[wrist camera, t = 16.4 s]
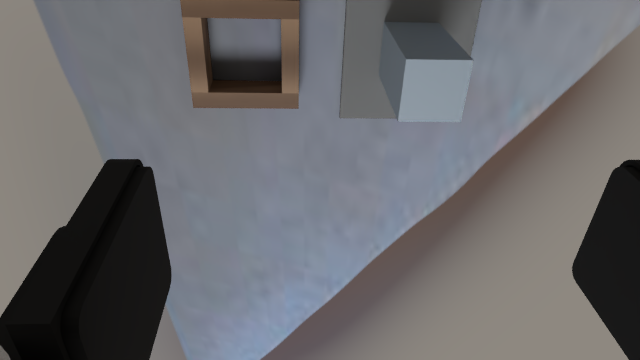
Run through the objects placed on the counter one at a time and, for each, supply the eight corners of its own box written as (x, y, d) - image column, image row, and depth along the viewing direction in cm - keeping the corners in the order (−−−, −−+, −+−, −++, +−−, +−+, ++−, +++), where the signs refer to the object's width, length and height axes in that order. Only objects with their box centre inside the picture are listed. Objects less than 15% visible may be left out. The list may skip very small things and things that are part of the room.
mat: (348, -34, 41) (348, -33, 41) (486, -30, 42) (487, -30, 41) (339, 116, 49) (339, 118, 48) (456, 117, 49) (457, 118, 49)
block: (384, 21, 43) (406, 59, 35) (438, 22, 44) (473, 60, 35) (378, 75, 46) (398, 121, 38) (430, 75, 46) (460, 121, 38)
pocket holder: (186, -10, 42) (180, -2, 39) (298, -8, 42) (299, 0, 40) (198, 94, 47) (193, 107, 44) (298, 95, 47) (298, 108, 45)
